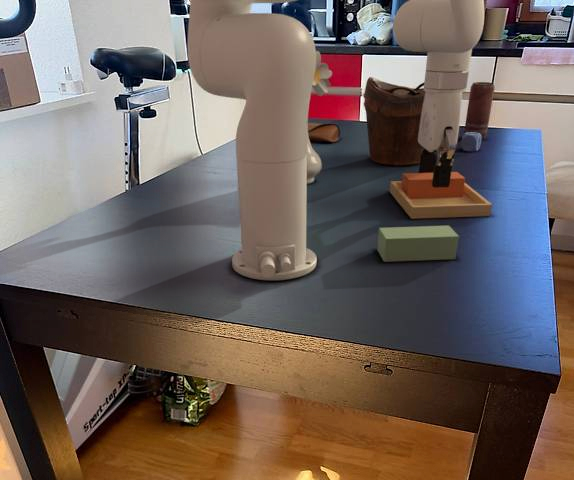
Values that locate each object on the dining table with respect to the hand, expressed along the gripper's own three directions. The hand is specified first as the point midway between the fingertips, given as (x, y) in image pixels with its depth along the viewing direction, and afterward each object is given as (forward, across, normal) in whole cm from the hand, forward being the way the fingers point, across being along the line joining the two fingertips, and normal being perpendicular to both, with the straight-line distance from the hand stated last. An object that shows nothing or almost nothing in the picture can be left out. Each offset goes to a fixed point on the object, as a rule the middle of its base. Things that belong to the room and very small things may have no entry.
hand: (433, 180), depth 113 cm
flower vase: (+4, -16, -25) cm, 30 cm away
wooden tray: (+3, +4, 0) cm, 5 cm away
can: (+4, -55, +28) cm, 62 cm away
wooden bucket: (+4, -32, +1) cm, 32 cm away
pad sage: (+3, +30, -11) cm, 32 cm away
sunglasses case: (+4, -60, -19) cm, 63 cm away
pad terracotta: (+3, 0, 0) cm, 3 cm away
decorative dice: (+4, -41, +22) cm, 47 cm away
